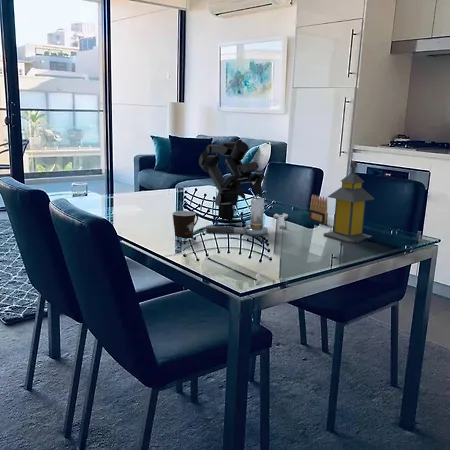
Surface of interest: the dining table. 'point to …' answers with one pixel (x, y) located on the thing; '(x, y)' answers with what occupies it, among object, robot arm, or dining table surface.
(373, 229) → the dining table surface
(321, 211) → the ammunition clip
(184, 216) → the coffee mug
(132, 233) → the dining table surface
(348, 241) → the lantern
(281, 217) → the adjustable wrench
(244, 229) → the ratchet
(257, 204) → the socket
